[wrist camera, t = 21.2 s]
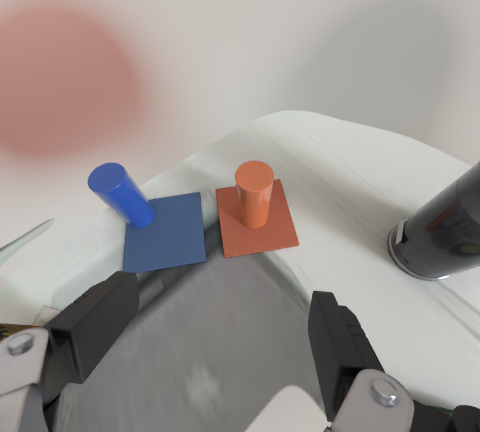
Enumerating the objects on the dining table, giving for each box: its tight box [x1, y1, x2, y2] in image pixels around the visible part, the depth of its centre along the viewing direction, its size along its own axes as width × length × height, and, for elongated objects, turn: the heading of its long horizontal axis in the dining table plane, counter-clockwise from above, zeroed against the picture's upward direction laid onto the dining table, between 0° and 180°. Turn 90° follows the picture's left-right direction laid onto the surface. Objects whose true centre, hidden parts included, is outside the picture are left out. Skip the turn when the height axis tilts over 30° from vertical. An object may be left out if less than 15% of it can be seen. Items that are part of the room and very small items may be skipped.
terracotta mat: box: [216, 179, 299, 258], centre depth 40 cm, size 12×13×1 cm
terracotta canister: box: [235, 161, 274, 229], centre depth 35 cm, size 5×5×11 cm
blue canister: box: [88, 163, 155, 228], centre depth 36 cm, size 5×5×11 cm
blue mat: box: [123, 192, 206, 273], centre depth 40 cm, size 13×13×1 cm
